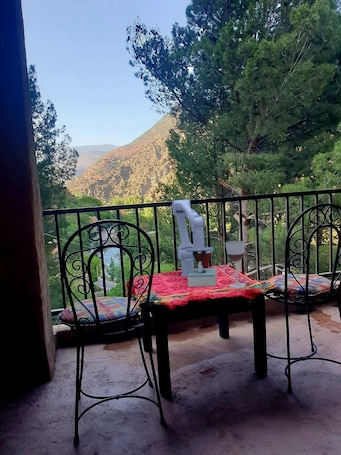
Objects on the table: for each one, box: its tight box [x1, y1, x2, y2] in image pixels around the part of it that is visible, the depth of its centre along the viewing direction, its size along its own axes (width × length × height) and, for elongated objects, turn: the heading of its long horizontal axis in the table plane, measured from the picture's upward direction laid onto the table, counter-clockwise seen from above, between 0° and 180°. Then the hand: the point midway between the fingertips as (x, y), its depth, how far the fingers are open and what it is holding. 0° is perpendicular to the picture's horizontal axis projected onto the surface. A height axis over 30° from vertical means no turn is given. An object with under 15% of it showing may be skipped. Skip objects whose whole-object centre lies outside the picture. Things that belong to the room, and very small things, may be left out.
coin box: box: [186, 267, 218, 288], centre depth 191 cm, size 14×14×6 cm
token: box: [197, 261, 203, 273], centre depth 190 cm, size 5×2×5 cm, turn 169°
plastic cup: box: [198, 250, 212, 269], centre depth 220 cm, size 11×11×12 cm
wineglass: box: [225, 240, 246, 289], centre depth 180 cm, size 9×10×22 cm
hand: (200, 265), depth 190 cm, fingers closed on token, 2 cm apart
